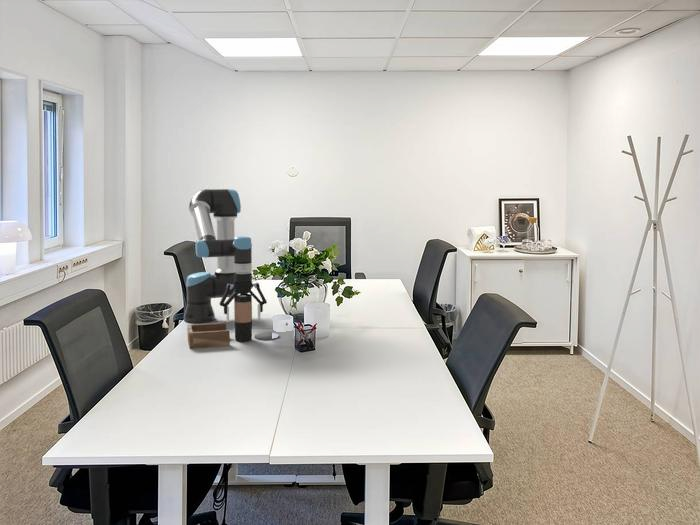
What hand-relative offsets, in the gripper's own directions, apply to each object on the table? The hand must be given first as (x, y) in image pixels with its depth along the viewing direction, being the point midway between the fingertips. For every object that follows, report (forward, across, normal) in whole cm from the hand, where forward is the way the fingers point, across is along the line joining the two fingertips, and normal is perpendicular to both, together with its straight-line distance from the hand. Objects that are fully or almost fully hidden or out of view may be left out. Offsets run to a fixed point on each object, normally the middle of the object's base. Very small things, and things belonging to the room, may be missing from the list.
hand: (243, 320), depth 258 cm
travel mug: (+9, 0, 0) cm, 9 cm away
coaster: (+9, +10, +2) cm, 14 cm away
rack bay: (+9, -15, 0) cm, 17 cm away
